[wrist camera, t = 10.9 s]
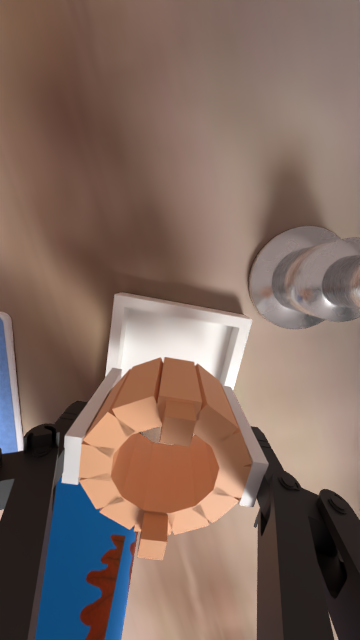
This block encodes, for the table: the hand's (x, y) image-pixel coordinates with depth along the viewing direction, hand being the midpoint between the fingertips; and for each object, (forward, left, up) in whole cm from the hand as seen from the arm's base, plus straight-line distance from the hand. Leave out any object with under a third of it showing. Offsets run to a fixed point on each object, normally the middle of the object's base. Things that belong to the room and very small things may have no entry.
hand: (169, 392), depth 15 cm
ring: (0, 0, +2) cm, 2 cm away
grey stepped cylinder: (-11, -11, -6) cm, 17 cm away
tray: (0, 0, -6) cm, 6 cm away
